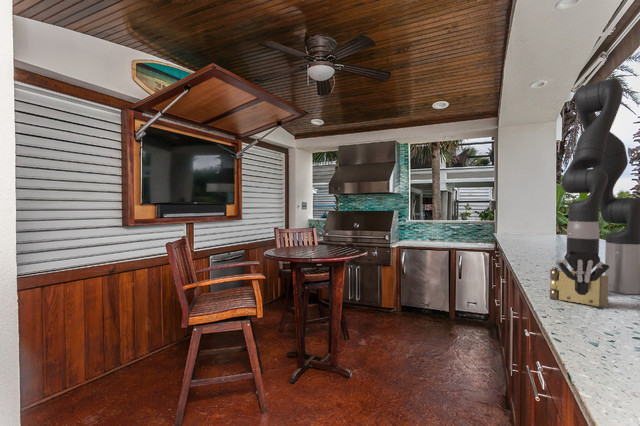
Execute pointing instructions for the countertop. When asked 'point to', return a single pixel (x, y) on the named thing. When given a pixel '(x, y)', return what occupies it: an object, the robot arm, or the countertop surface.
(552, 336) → the countertop surface
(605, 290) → the hinge mount
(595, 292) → the plate
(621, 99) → the robot arm
